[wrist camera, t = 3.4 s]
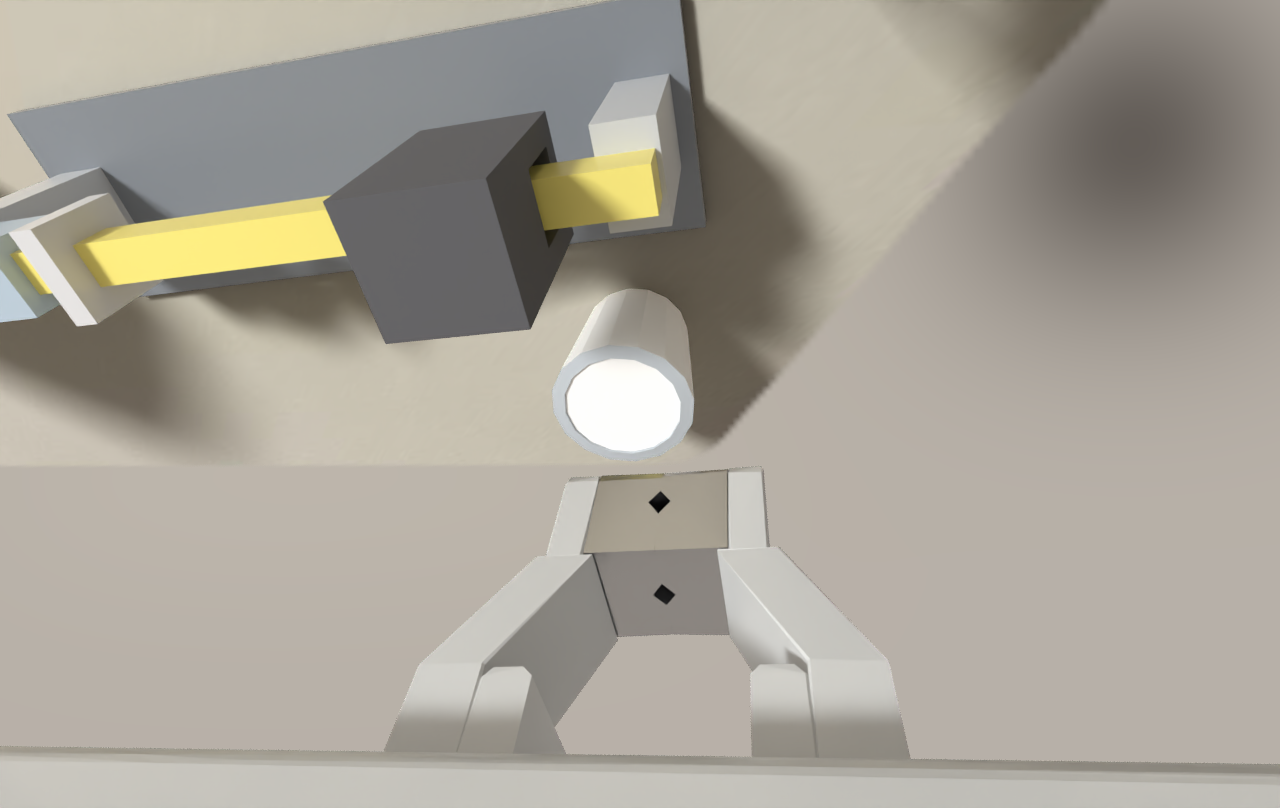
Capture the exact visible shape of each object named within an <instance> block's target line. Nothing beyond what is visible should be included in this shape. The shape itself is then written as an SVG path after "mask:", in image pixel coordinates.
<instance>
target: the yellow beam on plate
mask: <svg viewBox="0 0 1280 808" xmlns="http://www.w3.org/2000/svg"><path fill="white" fill-rule="evenodd" d="M539 111H545V112H546V116H547V121H548V125H549V129H550V134H551V138H552V142H553V146H554V151H555V155H556V159H557V162H556V163H549V164H543V165H536V166H531V167H530V168H529V174H530V178H531V182H532V185H533V189H534V193H535V197H536V201H537V205H538V209H539V213H540V216H541V220H542V224H543V228H544V230H552V229H560V228H568V227H572V228H573V232H574V235H573V237H572V239H571V242H570V244H572V243H581V242H589V241H597V240H605V239H613V238H621V237H629V236H637V235H645V234H654V233H662V232H670V231H678V230H686V229H694V228H702V227H706V216H705V207H704V198H703V190H702V181H701V172H700V163H699V155H698V146H697V137H696V128H695V120H694V111H693V102H692V93H691V85H690V76H689V67H688V58H687V50H686V41H685V32H684V23H683V15H682V6H681V0H609V1H604V2H599V3H593V4H588V5H583V6H577V7H572V8H567V9H561V10H556V11H551V12H545V13H540V14H535V15H529V16H524V17H518V18H513V19H508V20H502V21H497V22H492V23H486V24H481V25H476V26H470V27H465V28H460V29H454V30H449V31H444V32H438V33H433V34H428V35H422V36H417V37H412V38H406V39H401V40H395V41H390V42H385V43H379V44H374V45H369V46H363V47H358V48H353V49H347V50H342V51H337V52H331V53H326V54H321V55H315V56H310V57H305V58H299V59H294V60H288V61H283V62H278V63H272V64H267V65H262V66H256V67H251V68H246V69H240V70H235V71H230V72H224V73H219V74H214V75H208V76H203V77H198V78H192V79H187V80H181V81H176V82H171V83H165V84H160V85H155V86H149V87H144V88H139V89H133V90H128V91H123V92H117V93H112V94H107V95H101V96H96V97H91V98H85V99H80V100H74V101H69V102H64V103H58V104H53V105H48V106H42V107H37V108H32V109H26V110H21V111H17V112H14V113H10V114H7V115H8V117H9V118H10V120H11V121H12V123H13V124H14V126H15V127H16V129H17V130H18V132H19V133H20V135H21V136H22V138H23V139H24V141H25V142H26V144H27V145H28V147H29V148H30V150H31V151H32V153H33V154H34V156H35V157H36V159H37V160H38V162H39V163H40V165H41V166H42V168H43V169H44V171H45V172H46V174H47V175H48V177H49V179H46V180H44V181H41V182H39V183H36V184H34V185H31V186H29V187H26V188H24V189H21V190H19V191H16V192H14V193H11V194H9V195H6V196H4V197H1V198H0V322H7V321H16V320H24V319H32V318H38V317H40V316H42V315H43V314H45V313H47V312H48V311H50V310H52V309H53V308H55V307H57V306H58V305H60V304H61V305H62V307H63V308H64V310H65V311H66V312H67V314H68V315H69V316H70V318H71V319H72V320H73V322H74V323H75V324H76V326H85V325H93V324H98V323H100V322H101V321H103V320H104V319H106V318H107V317H109V316H110V315H112V314H113V313H115V312H116V311H118V310H119V309H121V308H122V307H124V306H126V305H127V304H129V303H130V302H132V301H133V300H135V299H136V298H138V297H142V296H150V295H158V294H166V293H175V292H183V291H191V290H199V289H207V288H215V287H223V286H231V285H240V284H248V283H256V282H264V281H272V280H280V279H288V278H296V277H304V276H313V275H321V274H329V273H337V272H345V271H353V269H352V267H351V264H350V262H349V260H348V258H347V255H346V253H345V251H344V249H343V246H342V244H341V242H340V240H339V237H338V235H337V233H336V231H335V228H334V226H333V224H332V222H331V219H330V217H329V215H328V213H327V210H326V208H325V206H324V204H323V201H324V200H326V199H327V198H329V197H330V196H331V195H333V194H334V193H335V192H337V191H338V190H339V189H341V188H342V187H344V186H345V185H346V184H348V183H349V182H350V181H352V180H353V179H354V178H356V177H357V176H359V175H360V174H361V173H363V172H364V171H365V170H367V169H368V168H369V167H371V166H372V165H374V164H375V163H376V162H378V161H379V160H380V159H382V158H383V157H385V156H386V155H387V154H389V153H390V152H391V151H393V150H394V149H395V148H397V147H398V146H400V145H401V144H402V143H404V142H405V141H406V140H408V139H409V138H410V137H412V136H413V135H415V134H416V133H417V132H419V131H421V130H427V129H433V128H440V127H446V126H452V125H458V124H464V123H471V122H477V121H483V120H489V119H496V118H502V117H508V116H514V115H521V114H527V113H533V112H539Z"/></svg>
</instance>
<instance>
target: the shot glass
mask: <svg viewBox="0 0 1280 808" xmlns="http://www.w3.org/2000/svg"><path fill="white" fill-rule="evenodd" d="M552 396H553V409H554V414H555V416H556V418H557V419H558V421H559V423H560V425H561V427H562V428H563V430H564V432H565V434H567V435H568V436H569V437H570V438H571V439H573V440H574V441H575V442H576V443H578V444H579V445H580V446H581V447H582V448H584V449H585V450H587V451H590V452H592V453H595V454H597V455H600V456H602V457H605V458H608V459H613V460H626V461H639V460H643V459H648V458H652V457H656V456H660V455H662V454H663V453H665V452H666V451H668V450H669V449H671V448H673V447H674V446H676V445H677V444H679V443H680V442H681V441H682V439H683V437H684V436H685V434H686V433H687V431H688V429H689V428H690V426H691V425H692V423H693V411H694V392H693V381H692V371H691V361H690V350H689V340H688V330H687V326H686V324H685V321H684V319H683V316H682V314H681V311H680V310H679V309H678V308H677V307H676V306H675V305H674V304H673V303H672V302H671V301H670V300H669V299H668V298H666V297H664V296H661V295H659V294H657V293H655V292H652V291H650V290H645V289H625V290H621V291H618V292H615V293H612V294H609V295H608V296H607V297H605V298H604V299H603V300H602V301H601V302H600V303H598V304H597V305H596V306H595V308H594V309H593V311H592V313H591V315H590V317H589V319H588V321H587V322H586V324H585V326H584V328H583V330H582V332H581V334H580V335H579V337H578V339H577V341H576V343H575V345H574V347H573V348H572V350H571V352H570V354H569V356H568V358H567V360H566V361H565V363H564V365H563V367H562V369H561V371H560V373H559V376H558V378H557V380H556V382H555V385H554V387H553V389H552Z"/></svg>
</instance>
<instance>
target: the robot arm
mask: <svg viewBox="0 0 1280 808" xmlns="http://www.w3.org/2000/svg"><path fill="white" fill-rule="evenodd" d="M767 520H768V519H767V507H766V495H765V483H764V470H763V469H762V467H761V466H755V467H742V468H730V469H729V470H728V469H725V470H710V471H694V472H679V473H665V474H640V475H639V474H638V475H611V476H602V477H573V478H570V480H569V481H568V482H567V483H566V485H565V489H564V492H563V496H562V499H561V503H560V507H559V510H558V514H557V517H556V521H555V525H554V528H553V532H552V535H551V539H550V543H549V546H548V550H547V554H546V556H539V557H536V558H535V559H533V560H532V561H531V562H530V563H529V564H528V565H527V566H526V567H525V568H524V569H523V570H521V572H519V573H518V574H517V575H516V576H515V577H514V578H513V579H512V580H511V581H510V582H509V583H507V584H506V585H505V586H504V587H503V588H502V589H501V590H500V591H499V592H497V593H496V594H495V595H494V596H493V597H492V598H491V599H490V600H489V601H488V602H487V603H485V604H484V605H483V606H482V607H481V608H480V609H479V610H478V611H477V612H476V613H475V614H473V615H472V616H471V617H470V618H469V619H468V620H467V621H466V622H465V623H464V624H463V625H462V626H460V627H459V628H458V629H457V630H456V631H455V632H454V633H453V634H452V635H451V636H450V637H449V638H447V639H446V640H445V641H444V642H443V643H442V644H441V645H440V646H439V647H438V648H437V649H435V650H434V651H433V652H432V653H431V654H430V655H429V656H428V657H427V658H426V659H424V660H423V661H422V662H421V663H420V664H419V666H418V668H417V670H416V673H415V676H414V678H413V680H412V683H411V685H410V688H409V690H408V693H407V695H406V698H405V700H404V703H403V705H402V708H401V710H400V712H399V715H398V717H397V720H396V722H395V725H394V727H393V729H392V732H391V734H390V737H389V739H388V742H387V744H386V747H385V749H384V752H370V751H369V752H368V751H367V752H366V751H299V750H230V749H229V750H228V749H227V750H226V749H161V748H157V749H156V748H93V747H87V748H86V747H22V746H0V808H1280V764H1228V763H1227V764H1226V763H1158V762H1156V763H1154V762H1152V763H1151V762H1088V761H1083V762H1082V761H1081V762H1080V761H1017V760H1015V761H1014V760H947V759H943V760H942V759H910V754H909V750H908V745H907V741H906V736H905V732H904V727H903V723H902V718H901V714H900V710H899V705H898V700H897V696H896V691H895V687H894V682H893V678H892V673H891V669H890V665H889V661H888V660H887V659H886V658H885V657H884V656H883V654H882V653H881V652H880V651H879V650H878V649H877V648H876V647H875V646H874V645H873V644H872V643H871V642H870V641H869V640H868V639H867V638H866V637H865V636H864V635H863V634H862V633H861V632H860V631H859V629H858V628H857V627H856V626H855V625H854V624H853V623H852V622H851V621H850V620H849V619H848V618H847V617H846V616H845V615H844V614H843V613H842V612H841V611H840V610H839V609H838V608H837V607H836V605H835V604H834V603H833V602H832V601H831V600H830V599H829V598H828V597H827V596H826V595H825V594H824V593H823V592H822V591H821V590H820V589H819V588H818V587H817V586H816V585H815V584H814V583H813V582H812V580H811V579H810V578H809V577H808V576H807V575H806V574H805V573H804V572H803V571H802V570H801V569H800V568H799V567H798V566H797V565H796V564H795V563H794V562H793V561H792V560H791V559H790V558H789V557H788V556H787V554H786V553H785V552H784V551H783V550H782V549H781V548H780V547H770V544H769V532H768V521H767ZM669 634H689V635H730V638H731V639H732V641H733V643H734V644H735V645H736V647H737V648H738V650H739V652H740V653H741V655H742V656H743V658H744V659H745V661H746V663H747V664H748V666H749V667H750V669H751V670H752V673H751V674H750V679H751V680H750V682H751V683H750V686H751V739H752V757H723V756H719V757H717V756H716V757H715V756H647V755H579V754H578V755H576V754H572V755H571V754H566V753H565V750H564V748H563V746H562V743H561V741H560V739H559V737H558V734H557V732H556V730H555V726H556V725H557V723H558V722H559V721H560V719H561V718H562V716H563V715H564V713H565V712H566V711H567V709H568V708H569V707H570V705H571V704H572V703H573V701H574V700H575V699H576V697H577V696H578V694H579V693H580V692H581V690H582V689H583V687H584V686H585V685H586V683H587V682H588V681H589V679H590V678H591V677H592V675H593V674H594V672H595V671H596V670H597V668H598V667H599V666H600V664H601V662H602V661H603V660H604V659H605V657H606V656H607V655H608V653H609V652H610V650H611V649H612V648H613V646H614V645H615V643H616V642H617V641H618V639H617V637H622V636H623V637H624V636H645V635H646V636H647V635H669Z"/></svg>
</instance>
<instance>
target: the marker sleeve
mask: <svg viewBox="0 0 1280 808" xmlns="http://www.w3.org/2000/svg"><path fill="white" fill-rule="evenodd" d="M556 162H557V159H556V155H555V151H554V146H553V142H552V138H551V134H550V129H549V125H548V121H547V116H546V112H545V111H539V112H533V113H527V114H521V115H514V116H508V117H502V118H496V119H489V120H483V121H477V122H471V123H464V124H458V125H452V126H446V127H440V128H433V129H427V130H421V131H419V132H417V133H416V134H415V135H413V136H412V137H410V138H409V139H408V140H406V141H405V142H404V143H402V144H401V145H400V146H398V147H397V148H395V149H394V150H393V151H391V152H390V153H389V154H387V155H386V156H385V157H383V158H382V159H380V160H379V161H378V162H376V163H375V164H374V165H372V166H371V167H369V168H368V169H367V170H365V171H364V172H363V173H361V174H360V175H359V176H357V177H356V178H354V179H353V180H352V181H350V182H349V183H348V184H346V185H345V186H344V187H342V188H341V189H339V190H338V191H337V192H335V193H334V194H333V195H331V196H330V197H329V198H327V199H326V200H324V201H323V204H324V206H325V208H326V210H327V213H328V215H329V217H330V219H331V222H332V224H333V226H334V228H335V231H336V233H337V235H338V237H339V240H340V242H341V244H342V246H343V249H344V251H345V253H346V255H347V258H348V260H349V262H350V264H351V267H352V269H353V271H354V273H355V276H356V278H357V280H358V282H359V285H360V287H361V289H362V291H363V294H364V296H365V298H366V301H367V303H368V305H369V307H370V310H371V312H372V314H373V316H374V319H375V321H376V323H377V325H378V328H379V330H380V332H381V334H382V337H383V339H384V341H385V343H386V344H390V343H400V342H410V341H420V340H430V339H440V338H450V337H459V336H469V335H479V334H489V333H499V332H509V331H519V330H529V329H531V327H532V325H533V323H534V320H535V318H536V316H537V314H538V312H539V309H540V307H541V305H542V303H543V301H544V298H545V296H546V294H547V292H548V290H549V288H550V285H551V283H552V281H553V279H554V277H555V274H556V272H557V270H558V268H559V266H560V263H561V261H562V259H563V257H564V255H565V253H566V250H567V248H568V246H569V244H570V242H571V239H572V237H573V235H574V232H573V228H572V227H568V228H560V229H552V230H544V228H543V224H542V220H541V216H540V213H539V209H538V205H537V201H536V197H535V193H534V189H533V185H532V182H531V178H530V174H529V168H530V167H531V166H536V165H543V164H549V163H556Z"/></svg>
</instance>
